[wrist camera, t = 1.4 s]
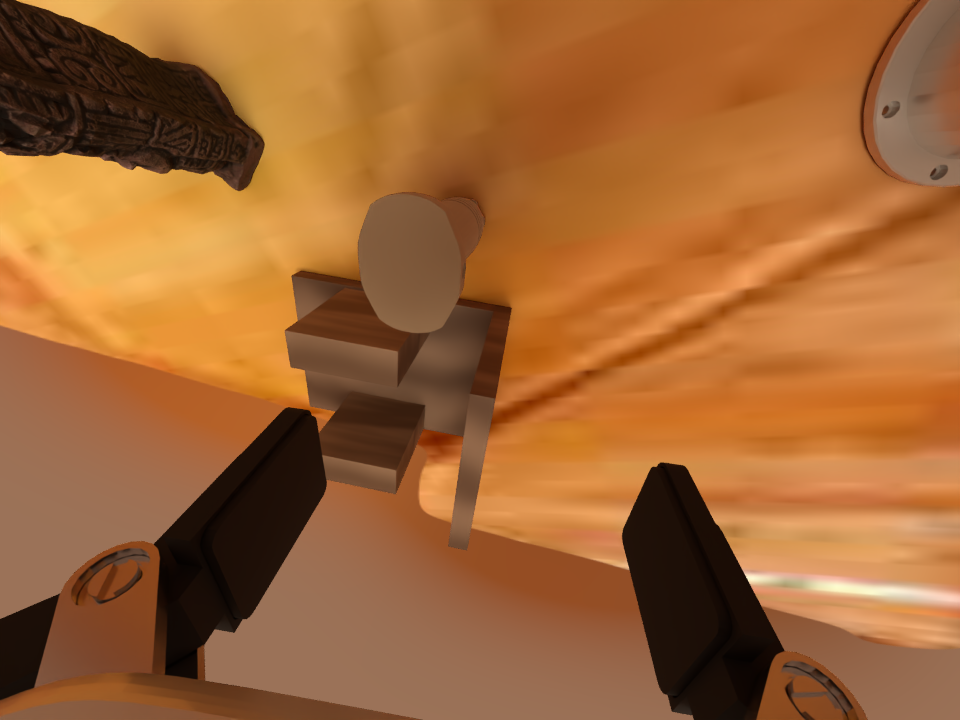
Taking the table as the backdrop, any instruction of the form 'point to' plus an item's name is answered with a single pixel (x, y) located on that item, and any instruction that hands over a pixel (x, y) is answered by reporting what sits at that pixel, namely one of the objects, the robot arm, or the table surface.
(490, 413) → the wooden stand
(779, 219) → the table surface
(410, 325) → the handle
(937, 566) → the table surface
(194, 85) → the statue
